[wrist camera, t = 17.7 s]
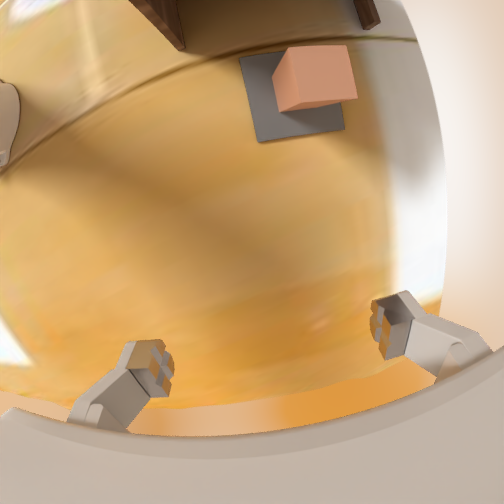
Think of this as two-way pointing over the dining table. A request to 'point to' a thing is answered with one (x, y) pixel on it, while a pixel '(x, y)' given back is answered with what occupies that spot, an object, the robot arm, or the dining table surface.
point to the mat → (266, 108)
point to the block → (313, 77)
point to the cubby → (167, 22)
